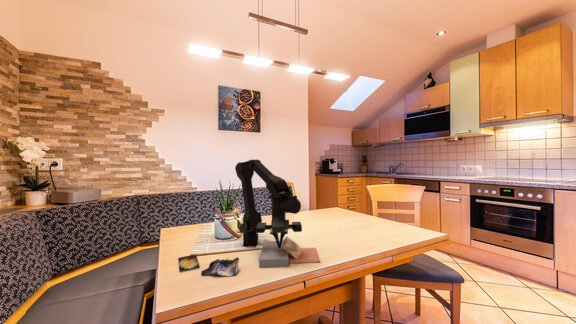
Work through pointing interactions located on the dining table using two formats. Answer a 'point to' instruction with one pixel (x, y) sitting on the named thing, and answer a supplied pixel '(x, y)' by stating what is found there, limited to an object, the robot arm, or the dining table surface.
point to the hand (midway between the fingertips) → (279, 247)
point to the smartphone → (188, 263)
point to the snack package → (222, 267)
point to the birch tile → (291, 247)
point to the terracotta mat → (305, 256)
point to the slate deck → (273, 255)
